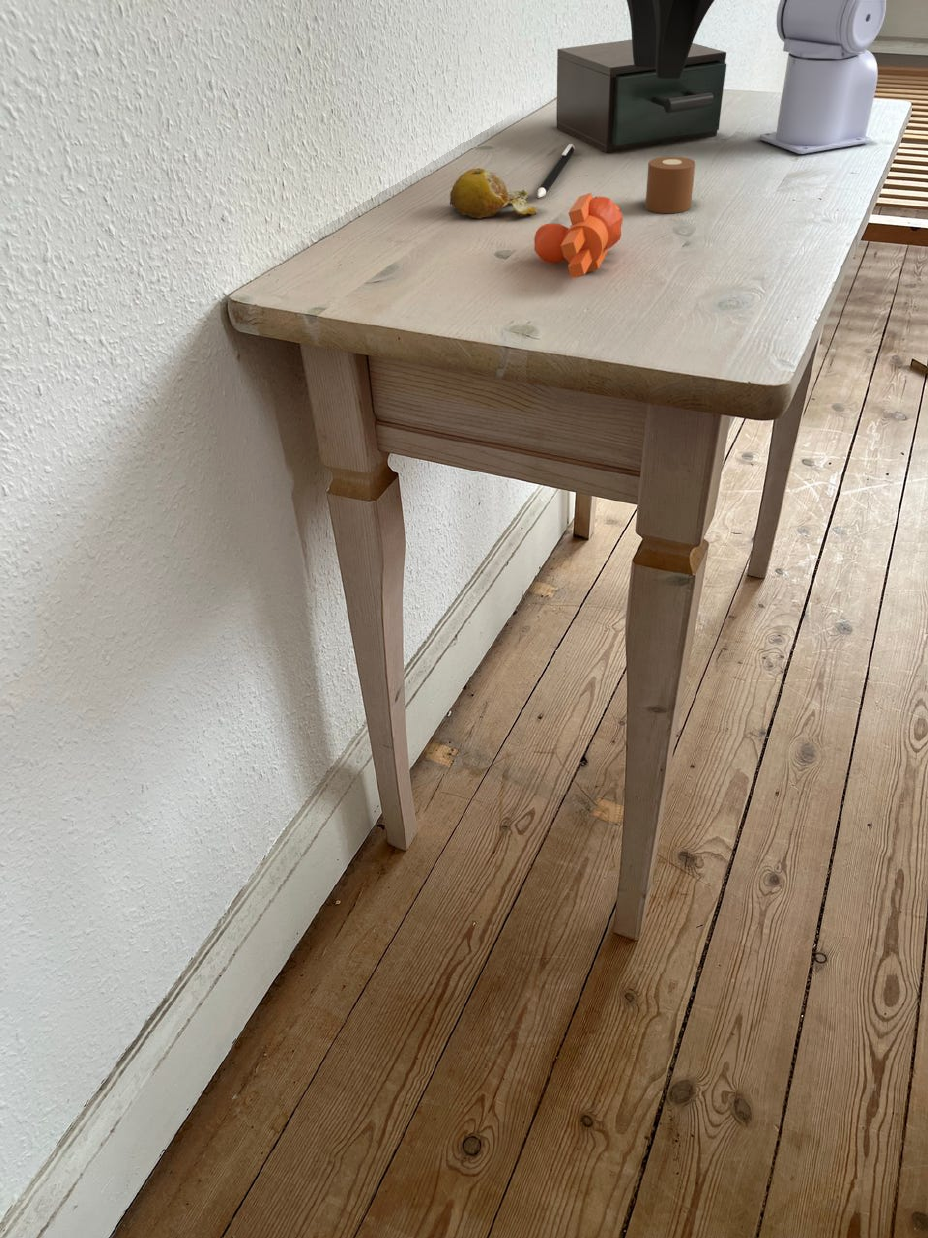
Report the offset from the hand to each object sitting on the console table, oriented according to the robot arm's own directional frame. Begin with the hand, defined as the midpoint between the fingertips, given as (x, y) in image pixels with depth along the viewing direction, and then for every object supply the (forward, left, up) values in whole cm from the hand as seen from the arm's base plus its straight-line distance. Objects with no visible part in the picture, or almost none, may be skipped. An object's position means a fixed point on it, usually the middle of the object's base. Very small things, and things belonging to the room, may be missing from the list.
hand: (656, 72), depth 89 cm
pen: (+6, -9, -11) cm, 15 cm away
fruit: (+16, -1, -11) cm, 19 cm away
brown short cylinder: (+1, +6, -11) cm, 12 cm away
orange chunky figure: (+16, +16, -11) cm, 25 cm away
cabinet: (-10, -21, -11) cm, 26 cm away
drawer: (-10, -17, -10) cm, 22 cm away
